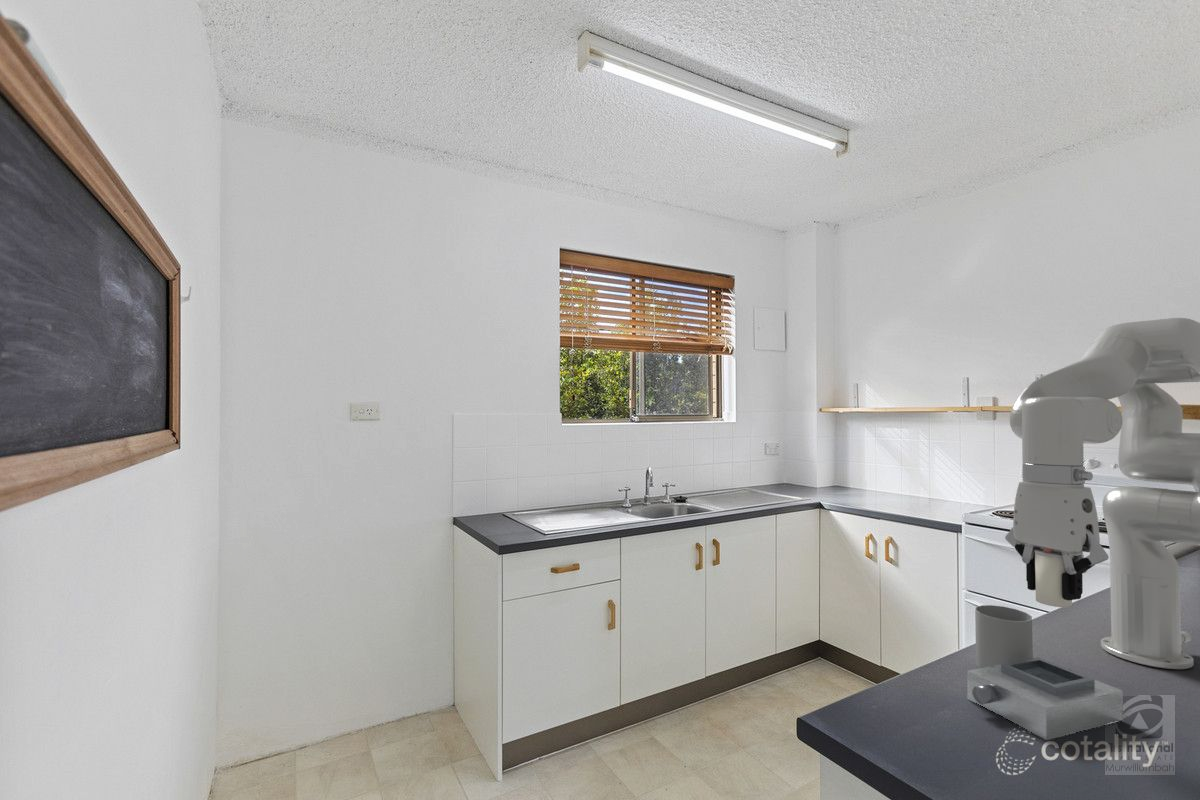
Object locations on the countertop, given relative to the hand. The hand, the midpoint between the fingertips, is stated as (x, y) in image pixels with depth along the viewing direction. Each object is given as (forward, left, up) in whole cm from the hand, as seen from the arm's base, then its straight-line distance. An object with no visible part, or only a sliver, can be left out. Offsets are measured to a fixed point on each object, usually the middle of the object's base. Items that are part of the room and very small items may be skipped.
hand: (1053, 592), depth 88 cm
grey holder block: (+3, -1, -18) cm, 18 cm away
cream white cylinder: (0, 0, -2) cm, 2 cm away
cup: (-6, -13, -18) cm, 23 cm away
